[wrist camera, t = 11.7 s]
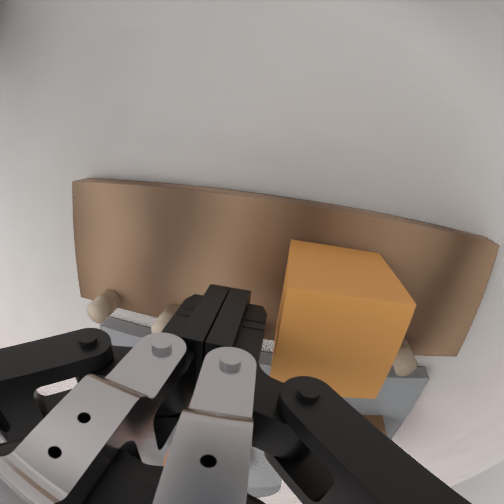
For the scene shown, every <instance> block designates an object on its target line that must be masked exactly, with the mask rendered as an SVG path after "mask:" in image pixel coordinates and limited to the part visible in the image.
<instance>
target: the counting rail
mask: <svg viewBox="0 0 504 504" xmlns="http://www.w3.org/2000/svg"><path fill="white" fill-rule="evenodd" d="M72 194H73V224H74V240H75V252H76V262H77V271H78V279H79V286H80V293H81V297H83V298H87V299H90V300H93V301H92V302H91V303H90V304H89V305H88V306H87V313H88V315H89V317H90V318H91V319H92V320H93V321H94V322H96V323H102V322H103V321H104V320H105V319H107V318H108V317H109V316H110V315H111V314H112V313H113V312H114V311H115V310H116V309H117V308H122V309H126V310H129V311H133V312H137V313H141V314H145V315H149V316H153V317H157V319H156V321H155V322H154V323H153V324H152V326H151V331H152V333H160V332H161V331H162V330H163V329H164V327H165V326H166V325H167V323H168V322H169V320H170V319H171V318H172V316H173V315H174V314H175V312H176V311H177V309H178V308H179V307H180V305H181V304H182V303H183V301H184V300H185V299H186V298H188V297H190V296H192V295H194V294H198V295H204V294H205V292H206V290H207V289H208V287H209V286H210V284H215V285H221V286H226V287H231V288H238V289H244V290H250V291H251V299H250V304H254V305H260V306H263V307H264V309H265V311H266V313H267V319H266V325H265V331H264V337H263V339H268V340H274V341H275V335H276V327H277V320H278V314H279V308H280V303H281V297H282V291H283V285H284V279H285V273H286V267H287V261H288V255H289V249H290V242H291V239H293V240H299V241H306V242H312V243H319V244H325V245H331V246H338V247H344V248H350V249H356V250H362V251H368V252H374V253H379V254H380V255H381V256H382V258H383V259H384V260H385V262H386V263H387V264H388V266H389V267H390V268H391V270H392V271H393V272H394V274H395V275H396V276H397V278H398V279H399V281H400V282H401V283H402V285H403V286H404V287H405V289H406V290H407V292H408V293H409V295H410V296H411V297H412V299H413V300H414V302H415V303H416V308H415V310H414V313H413V316H412V318H411V321H410V324H409V326H408V329H407V331H406V334H405V336H404V339H403V341H402V344H401V346H400V348H399V351H398V353H397V355H396V358H395V360H394V362H393V367H394V370H395V373H396V374H397V375H398V376H407V375H409V374H411V373H412V372H413V371H414V370H415V369H416V367H417V361H416V359H415V357H414V355H426V356H457V354H458V352H459V350H460V348H461V346H462V344H463V342H464V340H465V338H466V336H467V333H468V331H469V329H470V327H471V325H472V322H473V320H474V318H475V315H476V313H477V310H478V308H479V305H480V303H481V300H482V298H483V295H484V292H485V289H486V287H487V284H488V281H489V278H490V275H491V272H492V269H493V266H494V263H495V259H496V256H497V252H498V249H499V245H498V244H497V243H495V242H493V241H491V240H490V239H488V238H486V237H483V236H479V235H475V234H471V233H467V232H463V231H459V230H455V229H451V228H447V227H443V226H438V225H434V224H429V223H425V222H420V221H416V220H411V219H407V218H402V217H397V216H392V215H387V214H382V213H377V212H372V211H366V210H361V209H355V208H350V207H344V206H339V205H333V204H327V203H321V202H314V201H308V200H302V199H295V198H288V197H282V196H274V195H267V194H260V193H252V192H244V191H236V190H228V189H219V188H210V187H200V186H190V185H180V184H169V183H157V182H144V181H130V180H113V179H94V178H87V179H82V180H77V181H73V182H72Z"/></svg>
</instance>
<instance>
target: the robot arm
mask: <svg viewBox="0 0 504 504" xmlns="http://www.w3.org/2000/svg"><path fill="white" fill-rule="evenodd" d="M250 299H251V291H250V290H244V289H238V288H231V287H226V286H221V285H215V284H210V286H209V287H208V289H207V290H206V292H205V294H204V295H198V294H194V295H192V296H190V297H188V298H186V299H185V300H184V301H183V303H182V304H181V305H180V307H179V308H178V309H177V311H176V312H175V314H174V315H173V316H172V318H171V319H170V320H169V322H168V323H167V325H166V326H165V327H164V329H163V330H162V331H161V332H160V333H152V334H149V335H147V336H145V337H143V338H142V339H141V340H140V341H139V342H138V343H137V344H136V345H135V346H134V347H127V346H113V345H112V343H111V338H110V336H109V334H108V333H106V332H105V331H103V330H100V329H97V328H85V329H80V330H76V331H72V332H69V333H65V334H61V335H56V336H52V337H48V338H44V339H40V340H36V341H32V342H28V343H23V344H19V345H15V346H10V347H6V348H2V349H0V504H265V503H264V502H262V501H261V500H259V499H258V498H256V497H254V496H252V495H250V494H248V493H247V489H248V479H249V468H250V457H251V446H253V447H255V448H257V449H259V450H262V451H264V455H265V458H266V459H267V461H268V462H269V463H270V465H271V466H272V467H273V468H274V470H275V471H276V472H277V473H278V475H279V476H280V477H281V478H282V479H283V481H284V482H285V483H286V484H287V486H288V487H289V488H290V489H291V490H292V492H293V493H294V494H295V495H296V496H297V497H298V499H299V500H300V501H301V502H302V503H303V504H471V503H470V502H469V501H467V500H466V499H465V498H463V497H462V496H460V495H459V494H458V493H456V492H455V491H454V490H453V489H451V488H450V487H449V486H447V485H446V484H445V483H444V482H442V481H441V480H440V479H438V478H437V477H436V476H435V475H433V474H432V473H431V472H430V471H428V470H427V469H426V468H425V467H423V466H422V465H421V464H420V463H418V462H417V461H416V460H415V459H413V458H412V457H411V456H410V455H409V454H407V453H406V452H405V451H404V450H403V449H401V448H400V447H399V446H398V445H397V444H395V443H394V442H393V441H392V440H391V439H389V438H388V437H387V436H386V435H385V434H383V433H382V432H381V431H380V430H379V429H378V428H376V427H375V426H374V425H373V424H372V423H371V422H369V421H368V420H367V419H366V418H365V417H364V416H363V415H361V414H360V413H359V412H358V411H357V410H356V409H355V408H354V407H352V406H351V405H350V404H349V403H348V402H347V401H346V400H345V399H343V398H342V397H341V396H340V395H339V394H338V393H337V392H336V391H334V390H333V389H332V388H331V387H330V386H329V385H328V384H326V383H325V382H323V381H322V380H320V379H317V378H314V377H309V376H297V377H293V378H290V379H288V380H287V381H285V382H281V381H279V380H276V379H274V378H272V377H270V376H269V375H267V374H266V373H265V372H264V371H263V370H262V369H261V367H260V365H259V359H260V354H261V348H262V343H263V337H264V331H265V325H266V319H267V313H266V311H265V309H264V307H263V306H260V305H254V304H250ZM74 377H76V380H77V383H78V384H77V385H76V386H75V387H74V388H73V389H70V390H67V391H63V392H60V393H56V394H52V395H49V396H43V395H40V394H39V393H38V392H37V391H36V389H37V388H39V387H41V386H45V385H49V384H53V383H56V382H60V381H63V380H67V379H70V378H74ZM192 396H193V397H192ZM191 398H192V400H191ZM190 400H191V403H190ZM189 403H190V406H189V408H188V405H189ZM169 447H170V449H169ZM168 449H169V452H168V456H167V459H166V462H165V465H164V466H162V464H163V460H164V457H165V455H166V453H167V451H168Z"/></svg>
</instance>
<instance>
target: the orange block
mask: <svg viewBox="0 0 504 504" xmlns="http://www.w3.org/2000/svg"><path fill="white" fill-rule="evenodd" d="M415 308H416V303H415V302H414V300H413V299H412V297H411V296H410V295H409V293H408V292H407V290H406V289H405V287H404V286H403V285H402V283H401V282H400V281H399V279H398V278H397V276H396V275H395V274H394V272H393V271H392V270H391V268H390V267H389V266H388V264H387V263H386V262H385V260H384V259H383V258H382V256H381V255H380V254H379V253H374V252H368V251H362V250H356V249H350V248H344V247H338V246H331V245H325V244H319V243H312V242H306V241H299V240H293V239H291V242H290V249H289V255H288V261H287V267H286V273H285V279H284V285H283V291H282V297H281V303H280V308H279V314H278V320H277V327H276V335H275V342H274V349H273V356H272V363H271V370H270V377H272V378H274V379H276V380H279V381H281V382H285V381H287V380H288V379H290V378H293V377H297V376H309V377H314V378H317V379H320V380H322V381H323V382H325V383H326V384H328V385H329V386H330V387H331V388H332V389H333V390H334V391H336V392H337V393H338V394H339V395H340V396H341V397H348V398H366V399H376V397H377V395H378V393H379V391H380V389H381V387H382V385H383V383H384V381H385V379H386V377H387V375H388V373H389V371H390V369H391V366H392V364H393V362H394V360H395V358H396V355H397V353H398V351H399V348H400V346H401V344H402V341H403V339H404V336H405V334H406V331H407V329H408V326H409V324H410V321H411V318H412V316H413V313H414V310H415Z"/></svg>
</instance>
